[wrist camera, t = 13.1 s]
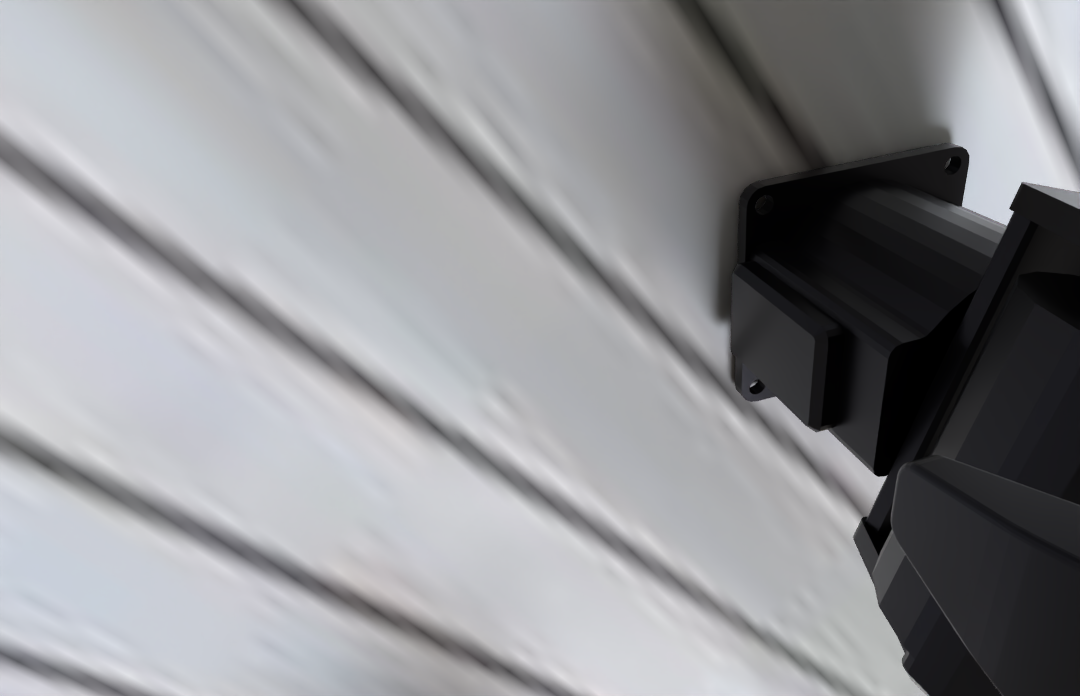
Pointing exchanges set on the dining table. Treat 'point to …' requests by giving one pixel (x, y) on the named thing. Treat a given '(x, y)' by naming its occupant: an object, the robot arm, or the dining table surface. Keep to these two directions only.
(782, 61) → the dining table surface
